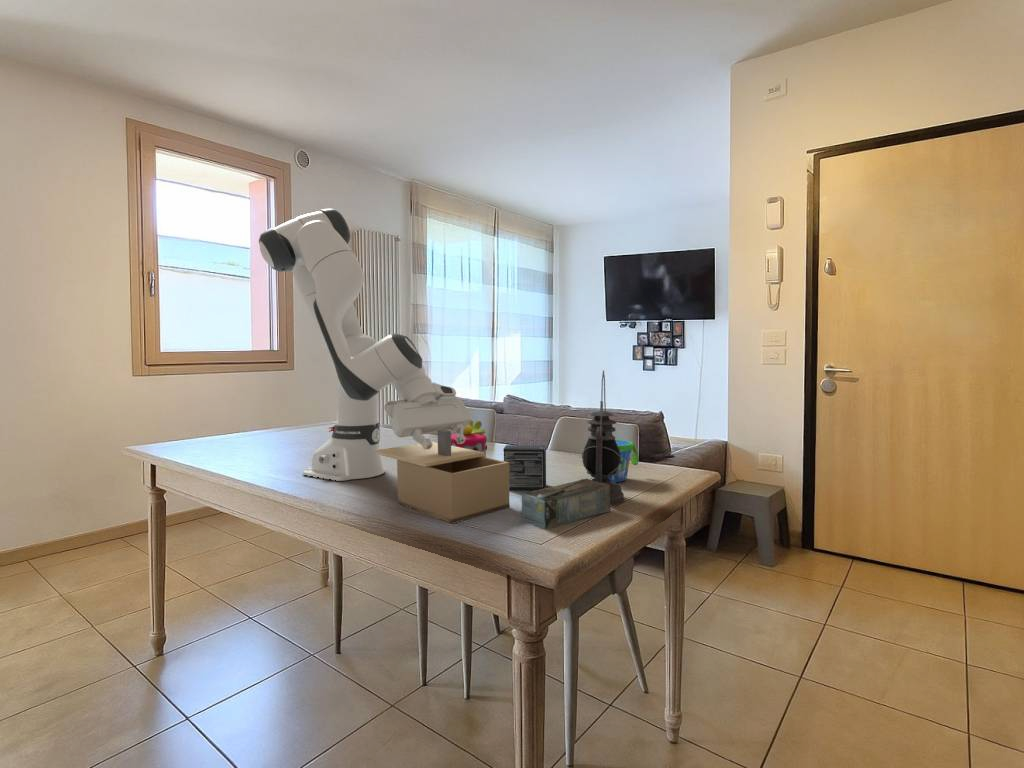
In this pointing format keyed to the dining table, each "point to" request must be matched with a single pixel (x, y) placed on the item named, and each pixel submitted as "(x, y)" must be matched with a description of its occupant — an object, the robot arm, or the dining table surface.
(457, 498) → the cardboard box
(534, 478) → the small box
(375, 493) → the dining table surface
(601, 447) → the lantern
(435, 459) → the lid flap
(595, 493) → the beverage carton
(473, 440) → the cake
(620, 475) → the snack cup
